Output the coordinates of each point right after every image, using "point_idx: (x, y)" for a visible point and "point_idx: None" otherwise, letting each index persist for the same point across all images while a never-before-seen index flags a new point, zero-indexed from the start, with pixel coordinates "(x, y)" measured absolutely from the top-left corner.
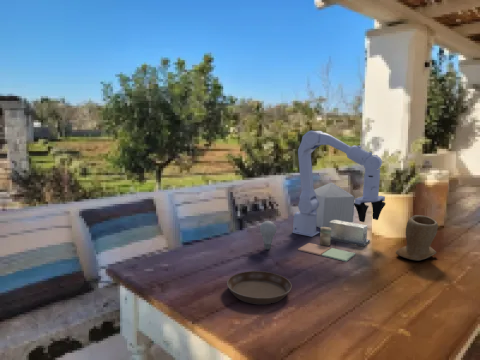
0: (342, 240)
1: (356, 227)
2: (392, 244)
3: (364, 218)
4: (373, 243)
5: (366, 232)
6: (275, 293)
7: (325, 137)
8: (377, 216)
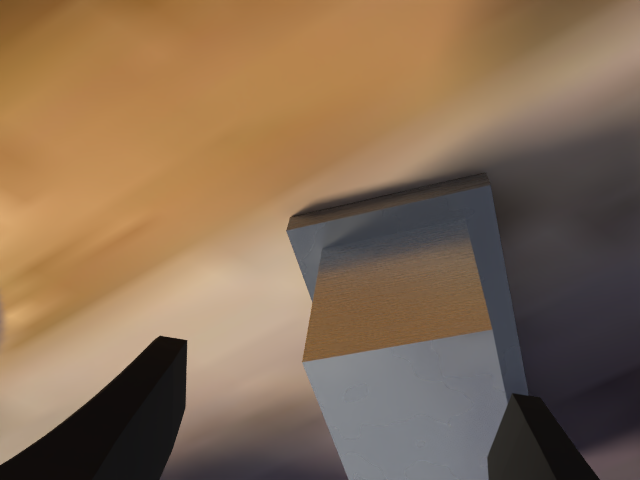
0: (524, 376)
1: (506, 400)
2: (118, 19)
3: (560, 440)
4: (288, 172)
5: (333, 298)
6: None
7: None
8: (162, 382)
